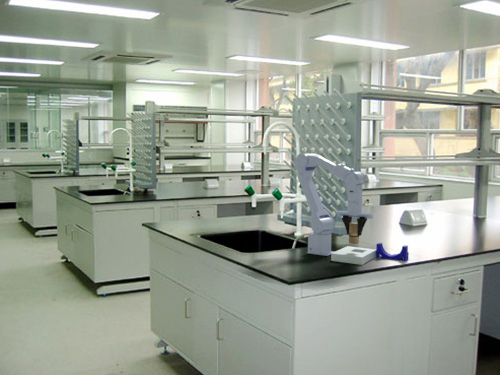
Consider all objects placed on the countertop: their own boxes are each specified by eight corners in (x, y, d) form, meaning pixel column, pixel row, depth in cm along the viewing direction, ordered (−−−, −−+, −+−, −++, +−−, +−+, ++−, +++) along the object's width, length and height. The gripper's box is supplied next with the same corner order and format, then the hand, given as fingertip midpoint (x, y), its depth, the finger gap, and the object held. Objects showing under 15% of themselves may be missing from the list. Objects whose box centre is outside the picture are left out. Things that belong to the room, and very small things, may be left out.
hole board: (331, 260, 202) (331, 253, 202) (347, 252, 216) (347, 246, 216) (362, 264, 195) (362, 257, 195) (376, 256, 209) (376, 249, 209)
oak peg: (346, 242, 203) (347, 223, 202) (351, 241, 206) (352, 222, 206) (356, 244, 201) (356, 224, 200) (360, 242, 204) (361, 223, 203)
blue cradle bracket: (408, 259, 205) (408, 245, 205) (405, 261, 202) (405, 247, 201) (379, 255, 212) (379, 242, 211) (376, 258, 208) (376, 243, 207)
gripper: (334, 201, 203) (333, 234, 204) (368, 203, 195) (367, 238, 196) (341, 199, 209) (340, 231, 210) (374, 202, 201) (374, 235, 202)
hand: (354, 234), depth 203 cm, fingers closed on oak peg, 4 cm apart
